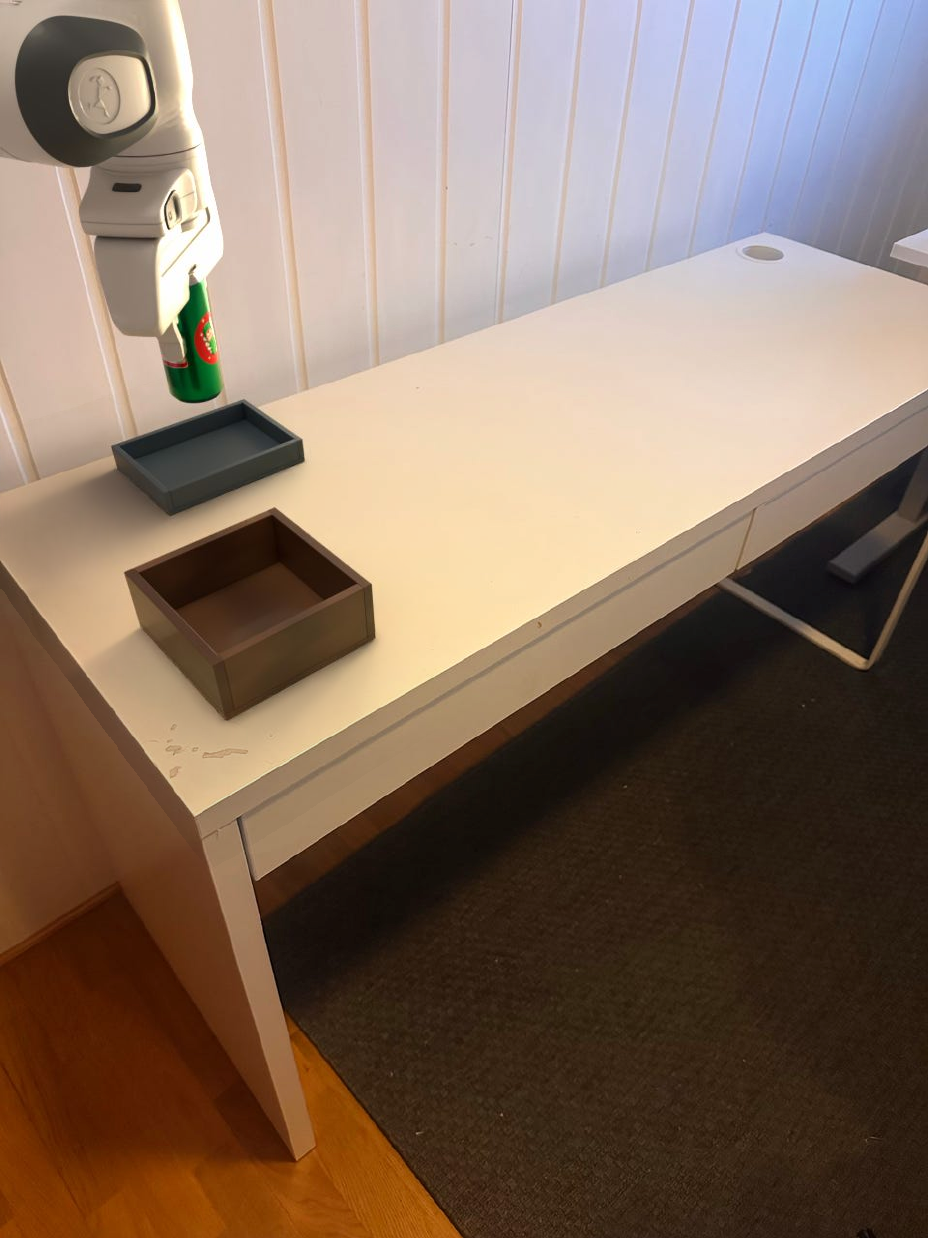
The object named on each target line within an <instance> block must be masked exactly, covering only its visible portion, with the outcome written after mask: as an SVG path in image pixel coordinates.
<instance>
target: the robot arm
mask: <svg viewBox="0 0 928 1238" xmlns="http://www.w3.org/2000/svg"><path fill="white" fill-rule="evenodd" d="M185 29H186V28H185V25H184V20H183V16H182V12H181V7H180V3H179V1H178V0H12V2H0V158H4V159H9V160H14V161H18V162H19V161H20V162H26V163H34V164H39V165H45V166H51V167H58V168H63V169H78V168H90V169H89V179H88V183H87V187H86V189H85V192H84V195H83V197H82V199H81V201H80V204H79V206H78V217H79V221H80V225H81V228H82V231H83V233H84V234H85V235H87V236H94V242H93V256H94V261H95V266H96V271H97V274H98V278H99V282H100V286H101V289H102V293H103V297H104V299H105V302H106V306H107V309H108V312H109V316H110V318H111V320H112V322H113V324H114V326H115V327H116V328H117V330H118V331H119V332H120V333H121V335H123V336H127V337H137V338H139V337H140V338H156V340H157V342H158V341H159V342H160V345H161V349H162V353H163V357H164V358H165V359H166V360H167V361H182V360H183V358H184V356H185V355H186V353H187V351H188V350H187V347H186V340H185V336H181V335H180V333H179V330H178V328H177V324H178V316H177V315H178V314H179V312H180V311H181V310H182V308H183V307H184V306H185V304H186V303H187V302H188V300H189V296H190V291H189V275H188V273H189V272H190V271H192V270H194V269H195V264H196V263H197V264H198V269H199V271H200V272H201V273H202V274H203V275H204V277H205V283H206V288H207V289H208V287H207V286H208V283H207V279H206V278H207V277H208V275H209V274H210V273H211V272H212V270H213V269H214V267H215V266H216V265H217V263H218V262H219V261H220V259H221V258H222V257H223V254H224V253H223V252H224V238H223V232H222V227H221V224H220V223H221V222H220V218H219V213H218V209H217V204H216V199H215V196H214V191H213V189H212V188H213V187H212V185H211V179H210V173H209V167H208V161H207V154H206V148H205V142H204V141H205V140H204V136H203V133H202V128H201V126H200V125H199V123H198V120H197V118H196V117H197V116H196V114H195V111H194V106H193V86H194V74H193V68H192V67H193V66H192V61H191V56H190V51H189V45H188V40H187V39H188V38H187V35H186V30H185ZM159 342H158V343H159Z"/></svg>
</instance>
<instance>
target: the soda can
mask: <svg viewBox="0 0 928 1238" xmlns="http://www.w3.org/2000/svg"><path fill="white" fill-rule="evenodd" d="M188 275H189V291H190V296H189V300H188V302H187V303H186V304H185V306H184V307H183V308H182V310H181V311H180V312H179V314H178V315H177V316H178V324H177V328H178V330H179V333H180V335H181V336H185V340H186V347H187V350H188V351H187V353H186V355H185V356H184V358H183V360H182V361H167V360H166V359H165V358H164V357H163V353H162V349H161V345H160V342H159V341H158V340H157V342H158V346H159V350H160V355H161V360H162V364H163V369H164V374H165V377H166V382H167V387H168V391H169V394H170V395H171V396H172V397H173V398H175V399H176V400H177V401H179V402H181V403H185V404H202V403H207V402H209V401H213V400H214V399H216V398H217V397H218V396H219V395H220V394H221V393H222V391H223V390H224V386H225V385H224V380H223V379H224V378H223V373H222V368H221V363H220V357H219V356H220V355H219V350H218V344H217V339H216V334H215V329H214V323H213V317H212V311H211V306H210V299H209V294H208V287H207V288H206V284H207V282H206V283H205V277H204V275H203V274H202V273H201V272H200V271H199V269H198V264H197V263H196V264H195V269H194V270H192V271H190V272H189V273H188Z"/></svg>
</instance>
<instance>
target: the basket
mask: <svg viewBox="0 0 928 1238" xmlns="http://www.w3.org/2000/svg"><path fill="white" fill-rule="evenodd" d="M123 574H124V578H125V580H126V584H127V587H128V591H129V594H130V598H131V601H132V604H133V607H134V611H135V614H136V617H137V620H138V623H139V626H140V627H141V629H143V631H144V632H145V633H146V634H147V635H148V636H149V637H150V639H151V640H152V641H153V642H154V643H155V644H156V645H157V646H158V647H159V649H161V650H162V652H163V653H164V654H165V655H166V656H167V657H168V658H169V660H171V661H172V663H173V664H174V665H175V666H176V667H177V669H179V670H180V671H181V673H182V674H183V675H184V676H185V677H186V678H187V679H188V680H189V682H190V683H192V685H193V686H194V687H195V688H196V690H198V691H199V693H201V694H202V696H203V697H204V698H205V699H206V700H207V701H208V702H209V704H211V706H213V708H214V709H215V711H216V712H218V713H219V715H221V717H223V719H224V720H225V721H228V720H230V719H231V718H234V717H235V716H237V715H239V714H241V713H242V712H244V711H246V710H248V709H250V708H252V707H253V706H255V705H257V704H259V703H261V702H262V701H264V700H266V699H268V698H270V697H271V696H273V695H275V694H277V693H279V692H281V691H282V690H285V689H287V688H288V687H289V686H291V685H293V684H295V683H297V682H299V681H301V680H302V679H304V678H306V677H308V676H310V675H312V674H313V673H315V672H317V671H318V670H321V669H322V668H325V667H326V666H328V665H329V664H331V663H333V662H335V661H338V660H339V659H340V658H343V657H344V656H346V655H347V654H350V653H351V652H353V651H355V650H356V649H359V648H361V647H362V646H365V645H366V644H368V643H369V642H371V641H373V640H375V639H376V638H377V637H376V636H377V635H376V620H375V607H374V606H375V605H374V593H373V584H372V582H370V581H369V580H367V579H366V578H365V577H364V576H363V575H361V574H360V573H359V572H357V571H356V570H355V569H353V568H352V567H351V566H350V565H349V564H347V562H345V561H344V560H342V559H341V558H340V557H338V556H337V555H336V554H335V553H334V552H332V551H331V550H330V549H328V548H327V547H326V546H324V544H322V543H321V542H319V541H318V540H317V539H316V538H315V537H313V536H312V535H311V534H310V533H308V531H306V530H304V529H303V528H302V527H301V526H299V525H298V524H297V523H296V522H294V521H293V520H292V519H291V518H289V517H288V516H287V515H286V514H284V513H283V512H282V511H281V510H279V509H278V508H277V507H276V506H274V507H272V508H270V509H267V510H265V511H263V512H260V513H258V514H255V515H254V516H251V517H248V518H247V519H244V520H242V521H239V522H237V523H235V524H233V525H229V526H228V527H225V528H224V529H221V530H219V531H216V532H214V533H211V534H209V535H207V536H204V537H202V538H200V539H198V540H195V541H193V542H190V543H188V544H186V545H184V546H181V547H179V548H177V549H174V550H171V551H169V552H168V553H165V554H163V555H160V556H158V557H156V558H153V559H151V560H149V561H146V562H144V563H141V564H139V565H137V566H134V567H133V568H130V569H128V570H125V571H124V572H123Z"/></svg>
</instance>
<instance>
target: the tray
mask: <svg viewBox="0 0 928 1238" xmlns="http://www.w3.org/2000/svg"><path fill="white" fill-rule="evenodd" d="M110 448H111V451H112V455H113V459H114V462H115V465H116V468H117V469H118V470H119V472H121V473H122V474H124V475H125V476H126V477H127V478H128V479H129V480H130V481H131V482H132V483H133V484H134V485H136V487H138V488H139V489H140V490H141V491H142V492H143V493H144V494H145V495H146V496H148V497H149V498H150V499H151V500H152V501H153V502H154V503H155V504H156V505H157V506H158V507H160V508H161V509H162V511H164V512H165V513H166V514H167V515H168V516H173V515H174V514H177V513H179V512H183V511H184V510H187V509H189V508H191V507H194V506H197V505H199V504H202V503H205V502H206V501H209V500H212V499H214V498H217V497H219V496H221V495H225V494H226V493H228V492H231V491H233V490H236V489H238V488H241V487H244V486H245V485H249V484H251V483H253V482H256V481H258V480H261V479H263V478H266V477H268V476H270V475H273V474H275V473H278V472H281V471H283V470H286V469H288V468H291V467H292V466H295V465H297V464H300V463H302V462H305V461H306V458H305V448H304V440H303V438H301V437H300V436H298V435H297V434H296V433H294V432H293V431H291V430H290V429H289V428H287V427H286V426H284V425H283V424H281V423H280V422H279V421H277V420H276V419H274V418H273V417H271V416H270V415H268V414H267V413H266V412H264V411H263V410H261V409H259V408H258V407H257V406H255V404H252V403H251V402H250V401H248V400H247V399H246V398H243V399H240V400H237V401H235V402H232V403H229V404H226V405H223V406H220V407H218V408H214V409H211V410H208V411H206V412H203V413H200V414H197V415H194V416H192V417H189V418H186V419H183V420H180V421H178V422H175V423H172V424H169V425H165V426H163V427H161V428H157V429H155V430H152V431H149V432H146V433H143V434H141V435H138V436H135V437H132V438H130V439H126V440H123V441H121V442H118V443H115V444H112V445H110Z"/></svg>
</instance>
